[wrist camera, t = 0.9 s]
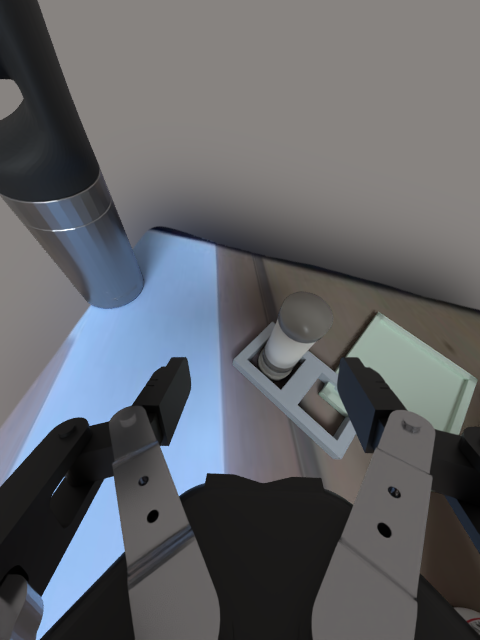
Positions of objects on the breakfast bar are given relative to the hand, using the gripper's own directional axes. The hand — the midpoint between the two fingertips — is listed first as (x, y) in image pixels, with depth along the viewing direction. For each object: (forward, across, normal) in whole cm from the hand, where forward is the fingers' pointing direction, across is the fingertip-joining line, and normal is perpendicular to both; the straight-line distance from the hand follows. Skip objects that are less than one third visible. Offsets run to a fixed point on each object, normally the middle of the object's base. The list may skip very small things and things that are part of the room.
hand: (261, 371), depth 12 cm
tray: (+18, -19, +16) cm, 31 cm away
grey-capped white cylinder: (+18, -2, +12) cm, 22 cm away
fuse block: (+16, -5, +14) cm, 22 cm away
